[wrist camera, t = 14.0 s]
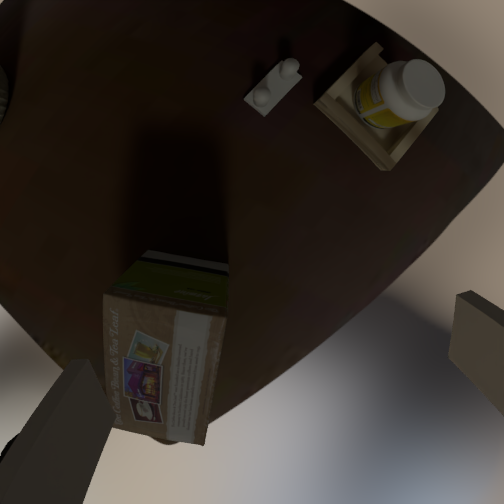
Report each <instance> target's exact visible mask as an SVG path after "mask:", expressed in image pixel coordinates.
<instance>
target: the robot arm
mask: <svg viewBox="0 0 504 504" xmlns="http://www.w3.org/2000/svg"><path fill="white" fill-rule="evenodd" d="M448 358H449V359H450V360H451V361H452V362H453V363H454V364H455V365H456V366H457V367H458V368H459V369H460V370H461V371H462V372H463V373H464V374H465V375H466V376H467V377H468V378H469V379H470V380H471V381H472V383H473V384H474V385H475V386H476V387H477V388H478V389H479V390H480V391H481V392H482V393H483V394H484V395H485V396H486V397H487V398H488V399H489V400H490V402H491V403H492V404H493V405H494V406H495V407H496V408H497V409H498V410H499V411H500V412H501V413H502V415H503V416H504V310H502V309H500V308H499V307H497V306H496V305H494V304H493V303H491V302H489V301H488V300H486V299H485V298H483V297H481V296H480V295H478V294H477V293H475V292H473V291H471V290H470V291H467V292H464V293H461V294H457V295H456V304H455V312H454V321H453V328H452V335H451V342H450V348H449V354H448ZM116 417H117V416H116V415H115V413H114V411H113V409H112V407H111V405H110V403H109V401H108V399H107V397H106V395H105V393H104V391H103V389H102V387H101V385H100V383H99V381H98V379H97V377H96V375H95V372H94V370H93V368H92V366H91V363H90V361H89V359H78V360H71V361H70V363H69V364H68V365H67V367H66V368H65V369H64V371H63V372H62V373H61V375H60V376H59V378H58V379H57V380H56V382H55V383H54V384H53V386H52V387H51V388H50V390H49V391H48V393H47V394H46V396H45V397H44V398H43V400H42V401H41V402H40V404H39V406H38V407H37V408H36V410H35V411H34V413H33V414H32V415H31V417H30V418H29V420H28V421H27V423H26V424H25V426H24V427H23V429H22V431H21V432H20V433H19V434H17V435H16V436H15V437H14V438H13V439H12V440H10V441H9V442H8V443H7V445H6V446H5V448H4V449H3V451H2V452H1V456H0V504H83V501H84V498H85V495H86V492H87V490H88V487H89V485H90V482H91V479H92V476H93V474H94V471H95V469H96V466H97V464H98V461H99V458H100V456H101V453H102V451H103V448H104V446H105V443H106V441H107V438H108V436H109V434H110V431H111V428H112V426H113V424H114V421H115V419H116Z"/></svg>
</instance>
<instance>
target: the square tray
mask: <svg viewBox="0 0 504 504" xmlns="http://www.w3.org/2000/svg"><path fill="white" fill-rule="evenodd" d="M382 50H383V48H382V47H381V46H380V45H379V44H378V43H377V42H375V43H374V44H373V45H372V46H370V47H369V48H368V49H367V50H366V51H365V52H364V53H363V54H362V55H361V56H360V57H359V58H358V59H357V60H356V61H355V62H354V63H353V64H352V65H351V66H350V67H349V68H348V69H347V70H346V71H345V72H344V73H343V74H342V75H341V76H340V77H339V78H338V79H337V80H336V81H335V82H334V83H333V84H332V85H331V86H330V87H329V88H328V89H327V90H326V92H325V93H324V94H323V95H322V96H321V97H320V98H319V99H318V100H317V101H316V102H315V103H314V105H315V106H316V107H317V108H318V109H320V110H321V111H322V112H323V113H324V114H325V115H326V116H327V117H328V118H329V119H330V120H331V121H333V122H334V123H335V124H336V125H337V126H338V127H339V128H340V129H341V130H342V131H343V132H344V133H345V134H346V135H347V136H348V137H349V138H350V139H351V140H352V141H353V142H354V143H355V144H356V145H357V146H358V147H359V148H360V149H361V150H362V151H363V152H364V153H365V154H366V155H367V156H368V157H369V158H370V159H371V160H372V161H373V163H374V164H375V165H376V166H377V167H378V168H379V169H380V170H388V171H390V170H391V169H392V168H393V167H394V166H395V164H396V163H397V162H398V161H399V159H400V158H401V157H402V156H403V155H404V153H405V152H406V151H407V150H408V148H409V147H410V146H411V145H412V143H413V142H414V141H415V140H416V138H417V137H418V136H419V135H420V133H421V132H422V131H423V129H424V128H425V127H426V126H427V124H428V123H429V122H430V121H431V119H432V118H433V117H434V115H435V114H436V113H437V111H438V110H439V109H438V108H437V107H435V108H433V109H432V111H431V112H430V113H429V114H428V115H427V116H426V117H425V118H423V119H421V120H418V121H414V122H410V123H407V124H403V125H399V126H395V127H391V128H387V129H375V128H372V127H370V126H368V125H367V124H365V123H364V122H363V121H362V120H361V119H360V118H359V116H358V115H357V113H356V110H355V108H354V102H353V97H354V93H355V90H356V89H357V87H358V86H359V85H360V84H361V83H362V82H363V81H365V80H366V79H368V78H369V77H371V76H372V75H374V74H375V73H377V72H378V71H380V70H381V69H382V68H384V67H385V66H387V65H388V64H387V63H386V62H385V61H384V60H383V59H382V58H381V57H380V56H379V55H378V54H379V53H380V52H381V51H382Z"/></svg>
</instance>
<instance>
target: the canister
mask: <svg viewBox="0 0 504 504" xmlns="http://www.w3.org/2000/svg"><path fill="white" fill-rule="evenodd" d="M8 83H9V82H8V80H7V75H6V74H5V71H4V69H3V68H2V66H1V65H0V123H1V122H2V119H3V116H4V115H5V110H6V108H7V103H8V96H9V92H8V91H9V86H8Z"/></svg>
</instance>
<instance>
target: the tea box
mask: <svg viewBox="0 0 504 504" xmlns="http://www.w3.org/2000/svg"><path fill="white" fill-rule="evenodd" d="M228 284H229V265H228V264H225V263H220V262H214V261H207V260H201V259H196V258H191V257H185V256H179V255H173V254H168V253H163V252H158V251H151V250H147V251H146V252H145V253H144V254H143V255H142V256H141V257H140V258H139V259H138V260H137V261H136V262H135V263H134V264H133V265H132V266H131V267H130V268H129V269H127V270H126V271H125V272H124V273H123V274H122V275H121V276H120V277H119V278H118V279H117V280H116V281H115V282H114V283H113V284H112V286H111V287H110V288H109V289H108V290H107V291H106V292H105V293H104V294H103V343H104V365H105V381H106V393H107V399H108V401H109V403H110V405H111V407H112V409H113V411H114V413H115V415H116V416H117V417H116V419H115V421H114V424H113V426H112V427H113V428H117V429H121V430H125V431H129V432H134V433H138V434H143V435H147V436H152V437H157V438H162V439H167V440H173V441H179V442H185V443H191V444H198V445H202V446H204V444H205V438H206V433H207V428H208V422H209V417H210V411H211V405H212V400H213V394H214V388H215V383H216V377H217V371H218V366H219V360H220V355H221V350H222V344H223V339H224V333H225V327H226V322H227V316H228Z"/></svg>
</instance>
